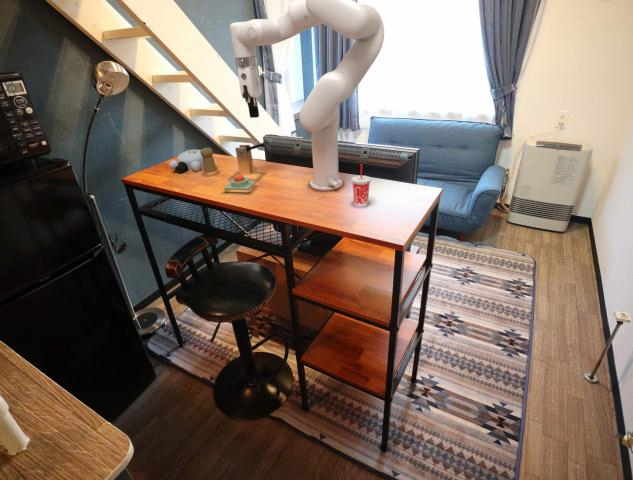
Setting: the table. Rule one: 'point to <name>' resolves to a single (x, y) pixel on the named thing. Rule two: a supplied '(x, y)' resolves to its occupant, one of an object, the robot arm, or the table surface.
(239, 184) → the button block
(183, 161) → the figurine
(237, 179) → the button
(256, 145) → the lever
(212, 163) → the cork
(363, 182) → the beverage cup
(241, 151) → the bracket
